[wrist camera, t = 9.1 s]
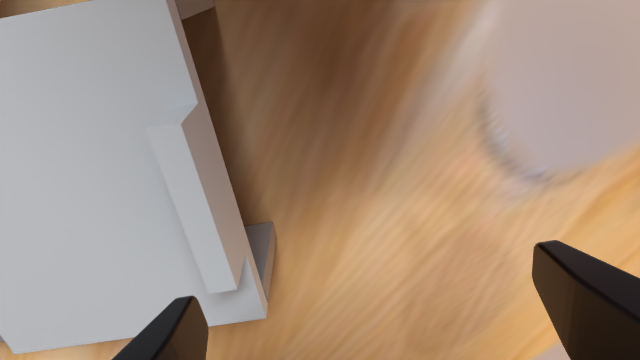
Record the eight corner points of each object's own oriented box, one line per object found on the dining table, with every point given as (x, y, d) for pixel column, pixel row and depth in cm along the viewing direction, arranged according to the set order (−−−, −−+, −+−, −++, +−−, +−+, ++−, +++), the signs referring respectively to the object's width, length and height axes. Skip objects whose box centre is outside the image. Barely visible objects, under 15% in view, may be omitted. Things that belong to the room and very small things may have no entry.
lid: (267, 304, 18) (261, 358, 16) (25, 339, 19) (-18, 396, 16) (169, -15, 12) (134, -10, 10) (-173, 53, 13) (-286, 73, 11)
